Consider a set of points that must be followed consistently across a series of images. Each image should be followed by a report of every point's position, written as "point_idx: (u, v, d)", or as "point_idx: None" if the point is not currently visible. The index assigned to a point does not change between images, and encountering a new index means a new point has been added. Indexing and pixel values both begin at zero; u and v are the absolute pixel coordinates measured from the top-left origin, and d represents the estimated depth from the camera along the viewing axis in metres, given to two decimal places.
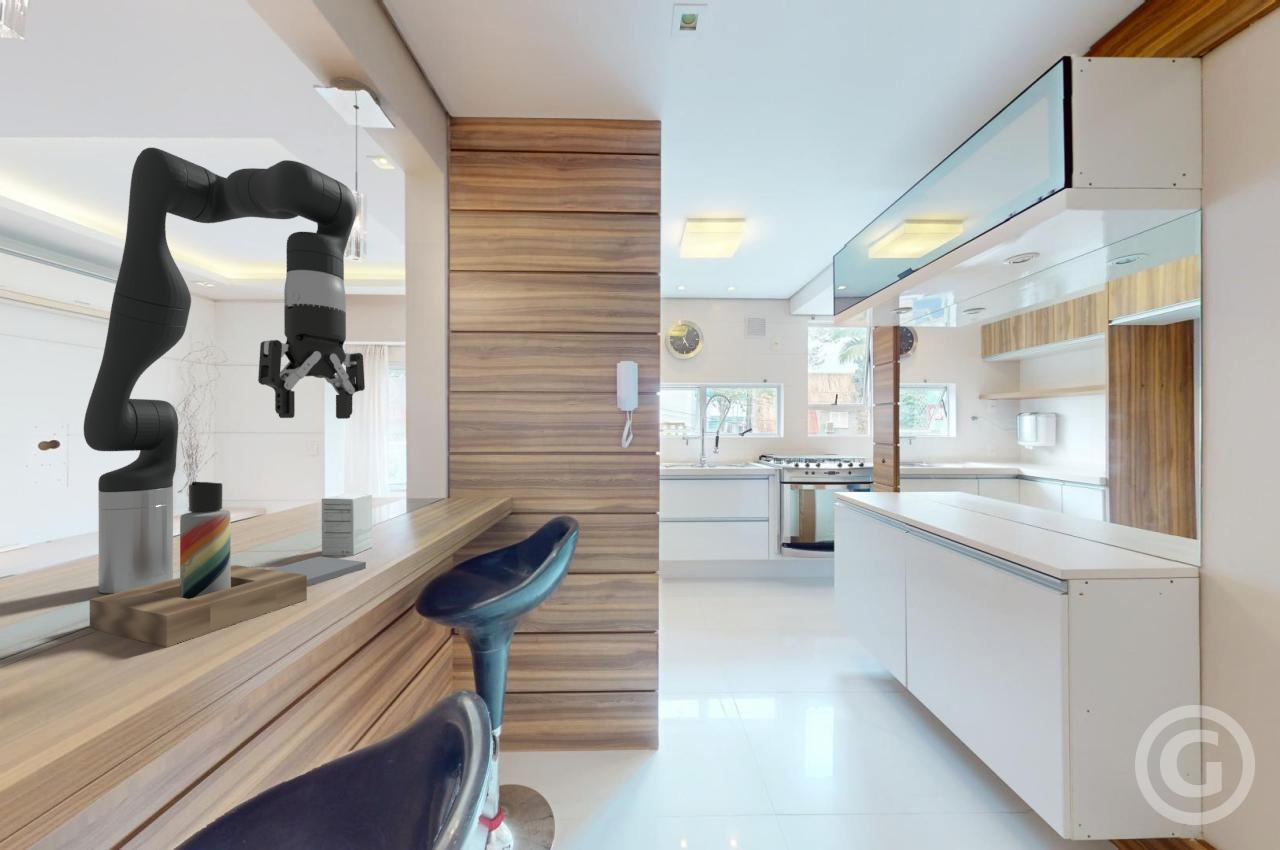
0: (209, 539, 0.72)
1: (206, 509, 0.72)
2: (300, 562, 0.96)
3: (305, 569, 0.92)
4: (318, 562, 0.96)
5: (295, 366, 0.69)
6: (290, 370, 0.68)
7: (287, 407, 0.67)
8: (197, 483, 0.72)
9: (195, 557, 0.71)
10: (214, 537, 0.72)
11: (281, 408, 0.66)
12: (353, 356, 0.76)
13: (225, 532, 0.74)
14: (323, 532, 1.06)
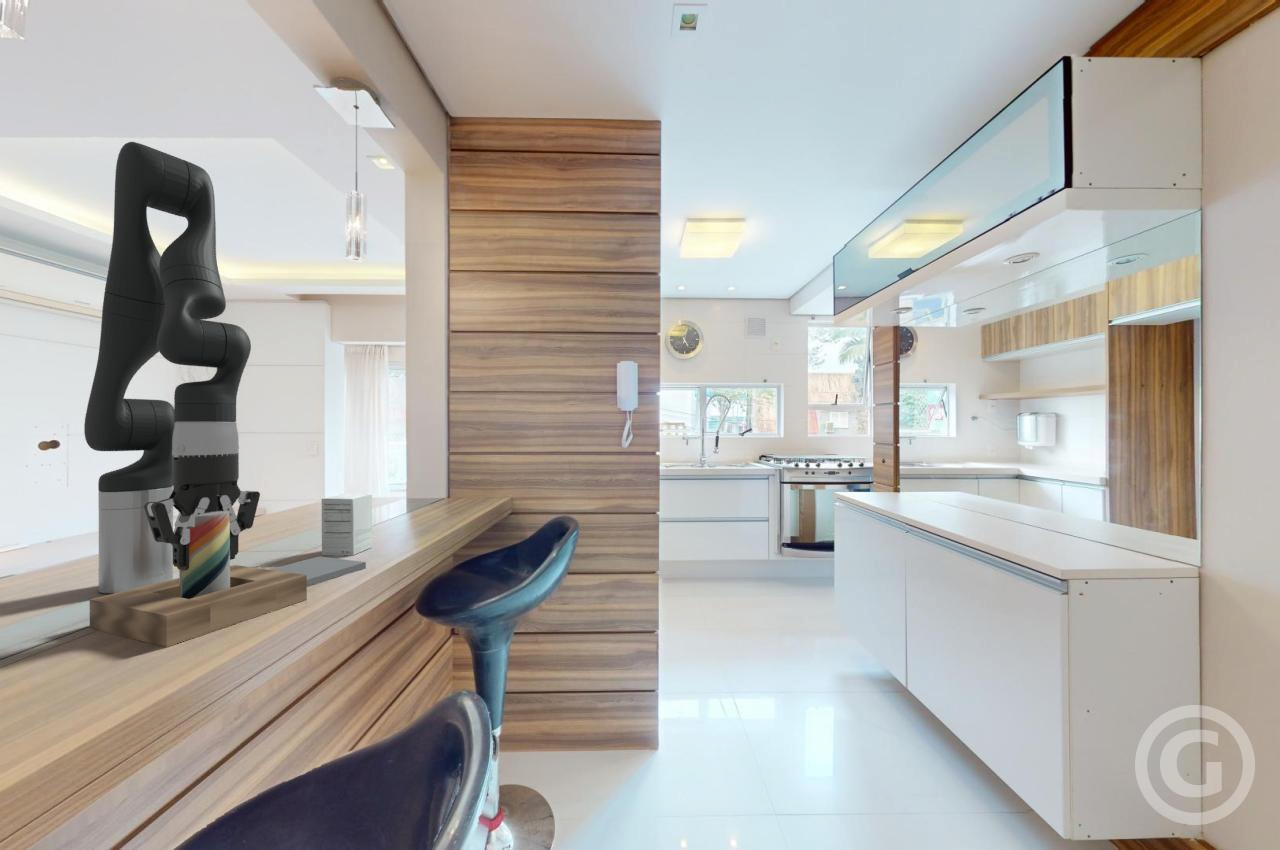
0: (207, 539, 0.71)
1: None
2: (300, 562, 0.96)
3: (305, 569, 0.92)
4: (318, 562, 0.96)
5: (187, 515, 0.71)
6: (182, 523, 0.71)
7: (184, 560, 0.70)
8: None
9: (193, 557, 0.71)
10: (213, 537, 0.72)
11: (178, 562, 0.70)
12: (249, 494, 0.78)
13: (224, 532, 0.73)
14: (323, 532, 1.06)
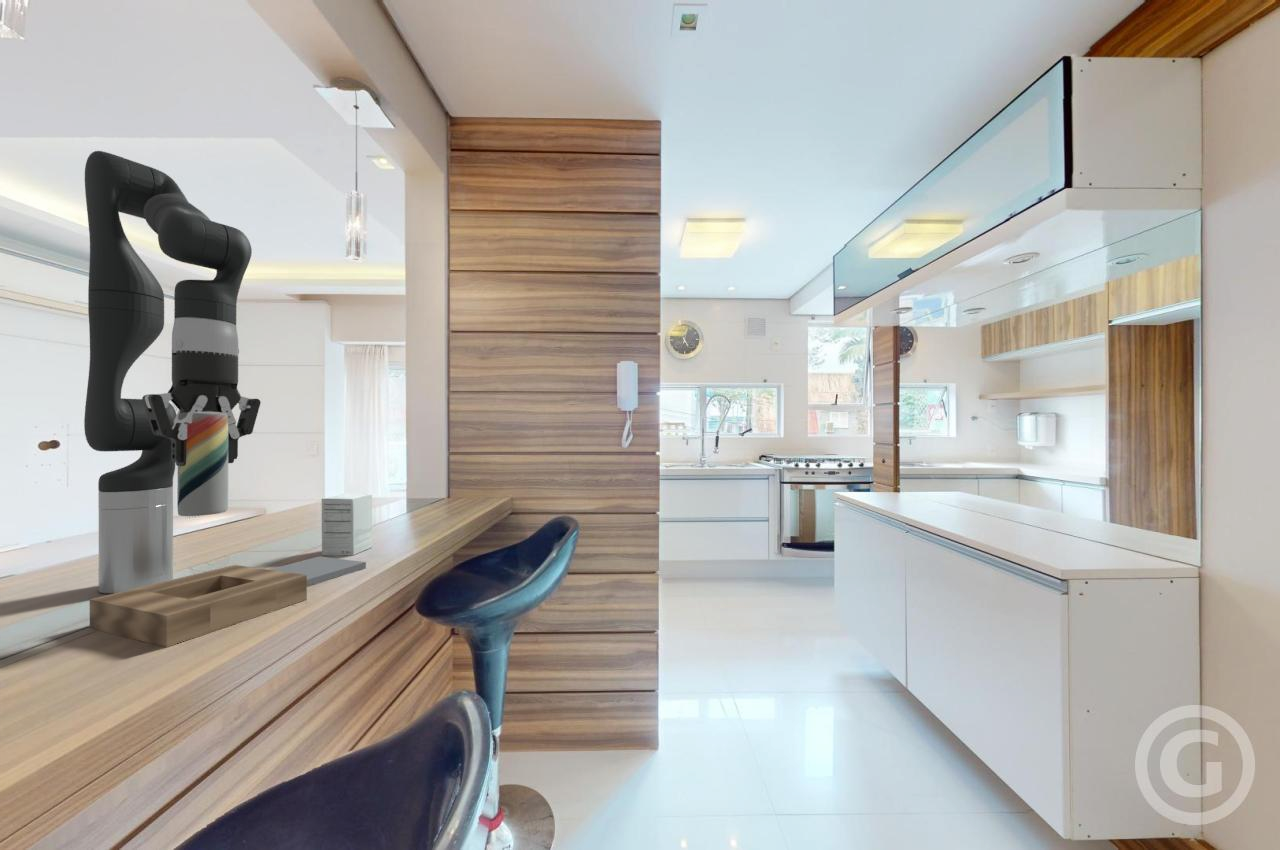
0: (204, 437, 0.71)
1: None
2: (300, 562, 0.96)
3: (305, 569, 0.92)
4: (318, 562, 0.96)
5: None
6: None
7: (182, 456, 0.70)
8: None
9: (190, 454, 0.70)
10: (209, 436, 0.72)
11: (175, 457, 0.70)
12: (250, 401, 0.78)
13: (221, 433, 0.73)
14: (323, 532, 1.06)
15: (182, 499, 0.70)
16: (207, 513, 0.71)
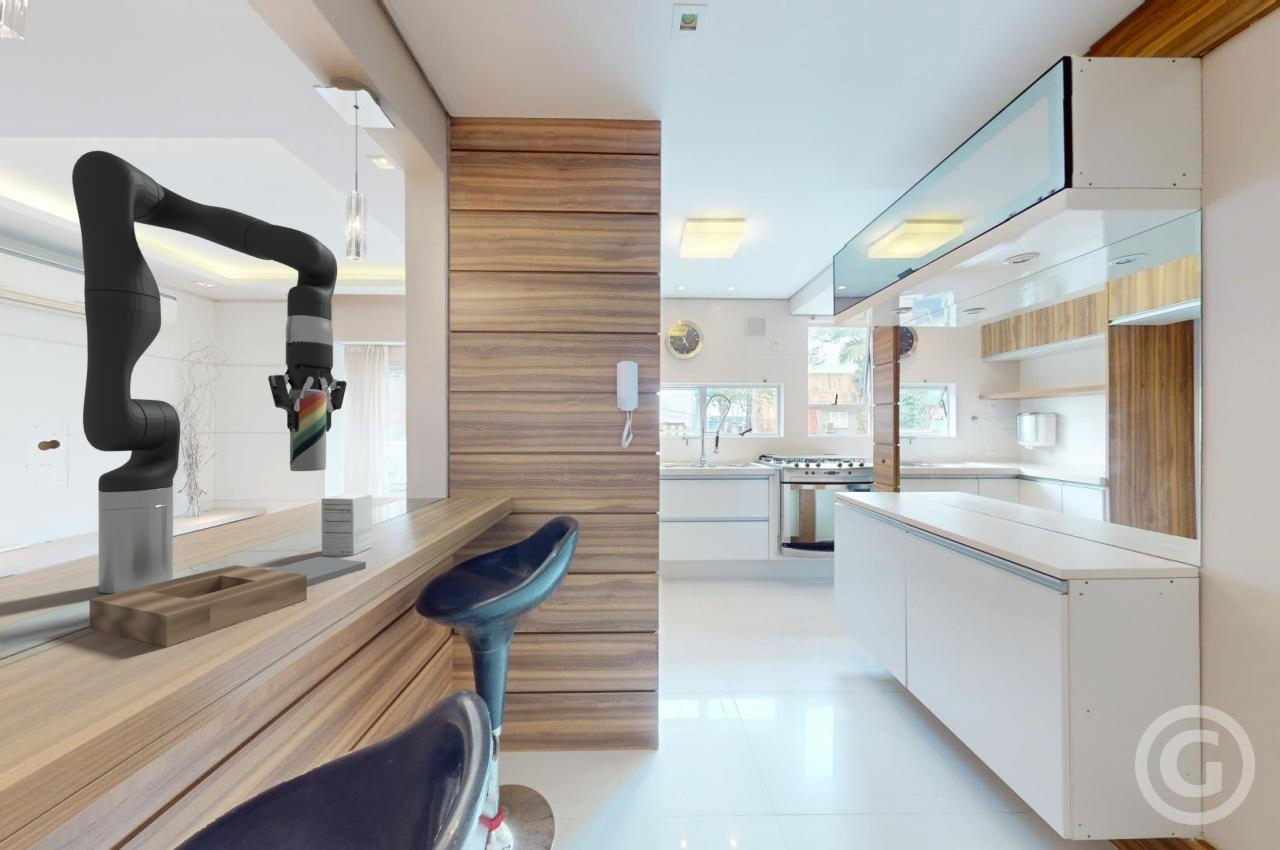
0: (312, 409, 0.91)
1: None
2: (300, 562, 0.96)
3: (305, 569, 0.92)
4: (318, 562, 0.96)
5: None
6: None
7: (296, 424, 0.90)
8: None
9: (302, 422, 0.90)
10: (315, 408, 0.91)
11: (291, 425, 0.89)
12: (339, 382, 0.98)
13: (323, 406, 0.92)
14: (323, 532, 1.06)
15: (296, 457, 0.90)
16: (314, 469, 0.91)
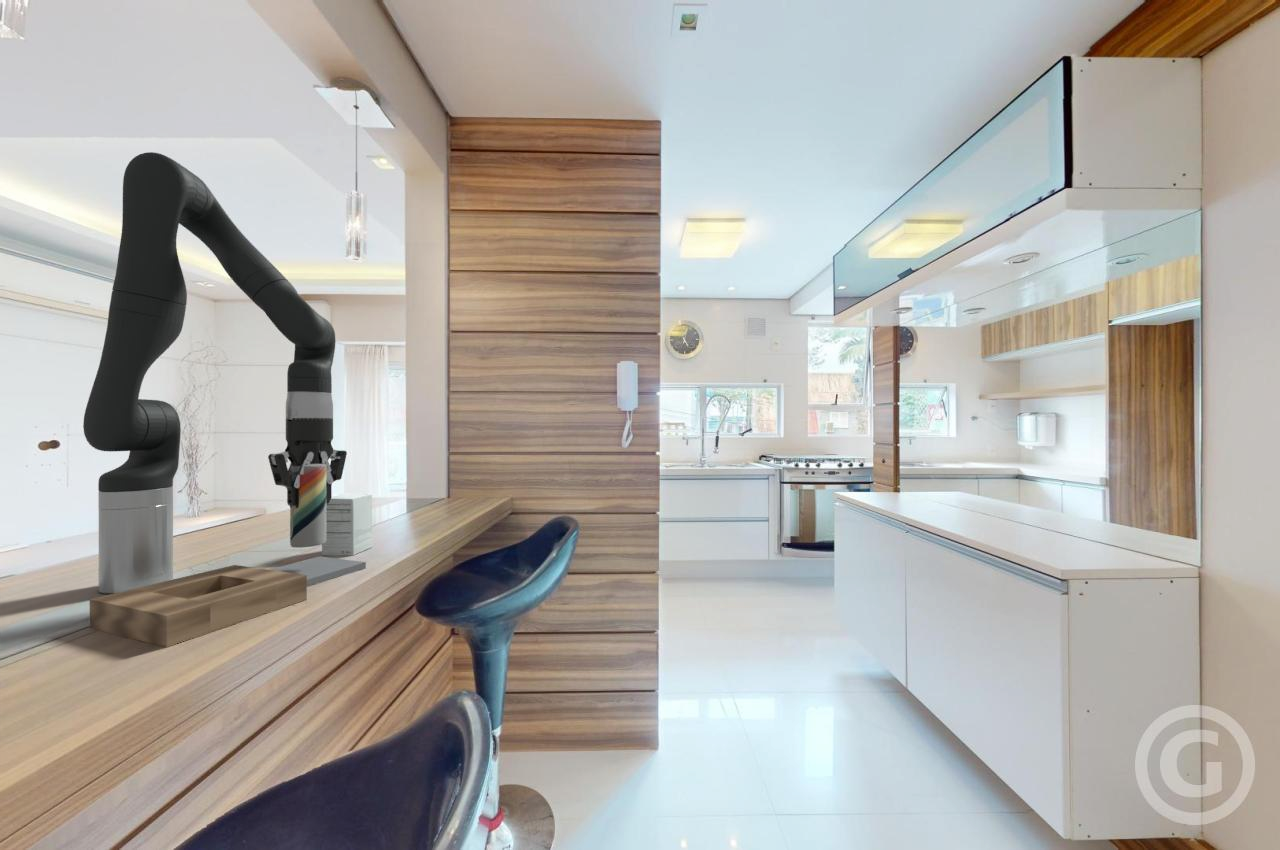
0: (312, 484, 0.90)
1: None
2: (300, 562, 0.96)
3: (305, 569, 0.92)
4: (318, 562, 0.96)
5: None
6: None
7: (296, 500, 0.89)
8: None
9: (302, 498, 0.90)
10: (316, 483, 0.91)
11: (291, 502, 0.89)
12: (339, 452, 0.98)
13: (323, 480, 0.92)
14: None
15: (296, 534, 0.89)
16: (314, 544, 0.91)
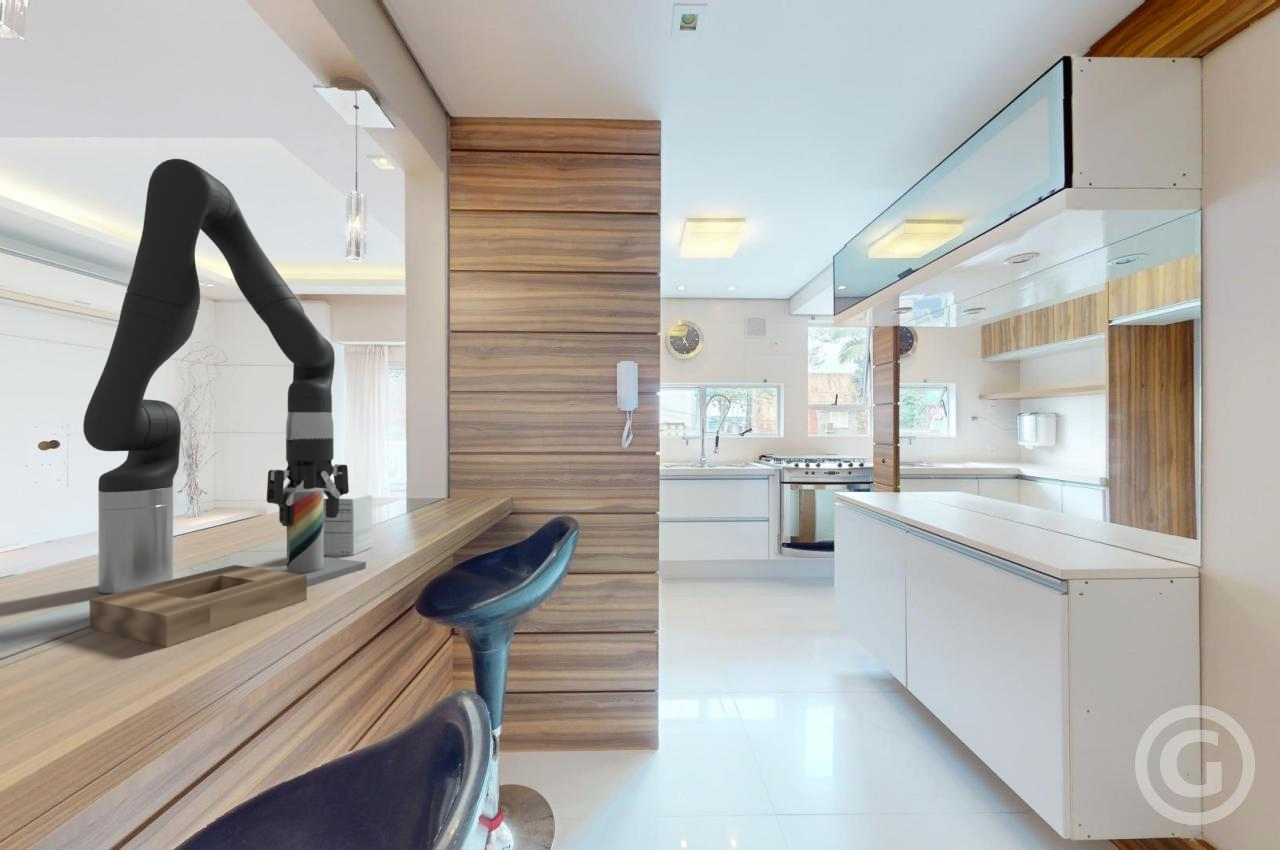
0: (308, 510, 0.89)
1: (306, 486, 0.90)
2: None
3: None
4: None
5: None
6: (290, 489, 0.89)
7: (288, 518, 0.88)
8: None
9: (298, 524, 0.89)
10: (312, 509, 0.90)
11: (284, 520, 0.87)
12: (340, 467, 0.98)
13: (319, 505, 0.91)
14: (323, 532, 1.06)
15: (292, 560, 0.88)
16: (311, 570, 0.90)
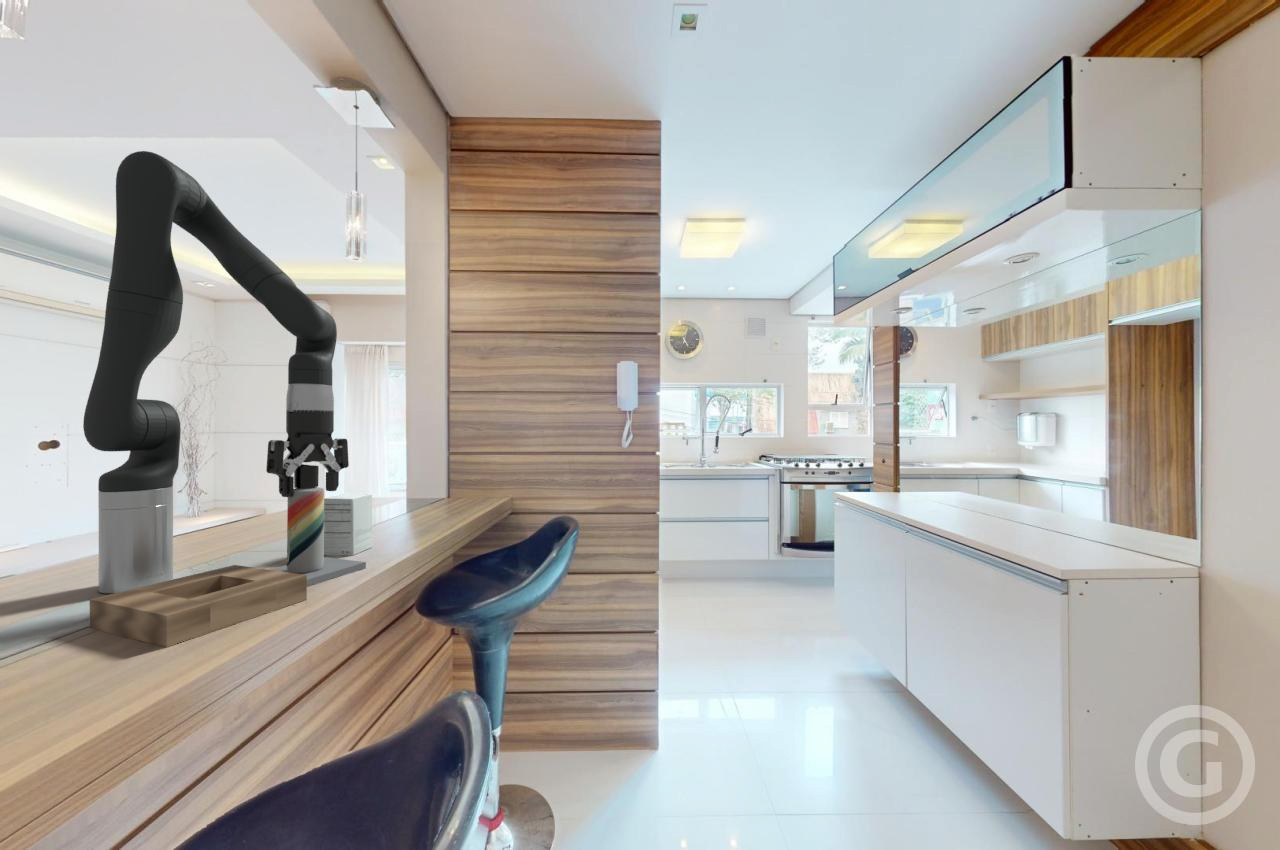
0: (309, 509, 0.89)
1: (307, 486, 0.90)
2: None
3: None
4: None
5: (294, 456, 0.90)
6: (290, 460, 0.89)
7: (288, 489, 0.88)
8: None
9: (298, 524, 0.89)
10: (312, 508, 0.90)
11: (283, 490, 0.88)
12: (340, 441, 0.98)
13: (320, 505, 0.91)
14: None
15: (292, 560, 0.88)
16: (311, 570, 0.90)
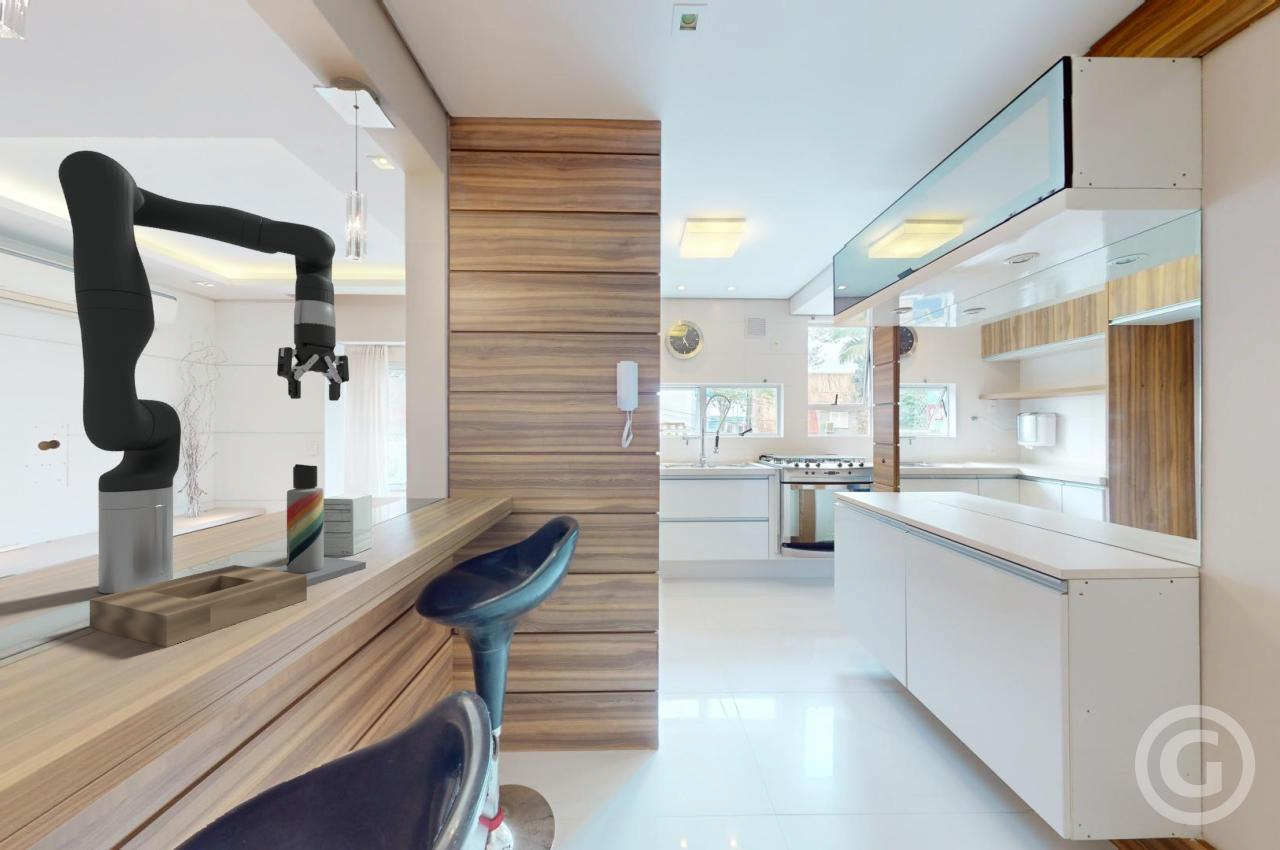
0: (308, 510, 0.89)
1: (306, 486, 0.90)
2: None
3: None
4: None
5: (301, 364, 1.02)
6: (298, 367, 1.01)
7: (296, 391, 1.00)
8: (299, 465, 0.90)
9: (298, 524, 0.89)
10: (312, 509, 0.90)
11: (292, 392, 1.00)
12: (341, 357, 1.10)
13: (320, 505, 0.91)
14: None
15: (292, 560, 0.88)
16: (311, 571, 0.90)
